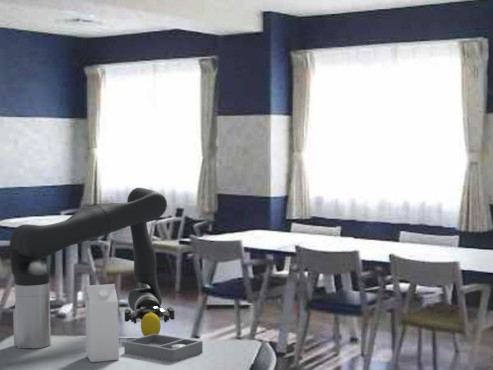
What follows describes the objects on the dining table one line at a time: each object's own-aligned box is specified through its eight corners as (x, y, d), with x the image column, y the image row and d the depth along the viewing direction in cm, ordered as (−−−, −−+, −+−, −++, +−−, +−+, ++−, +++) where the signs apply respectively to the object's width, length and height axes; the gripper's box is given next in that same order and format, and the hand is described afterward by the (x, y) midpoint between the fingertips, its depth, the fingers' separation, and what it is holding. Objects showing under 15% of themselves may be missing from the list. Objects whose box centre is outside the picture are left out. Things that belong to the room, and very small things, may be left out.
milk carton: (86, 356, 216) (84, 283, 215) (113, 353, 218) (112, 281, 217) (91, 363, 209) (89, 287, 208) (119, 360, 212) (117, 286, 211)
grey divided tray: (124, 353, 219) (124, 341, 219) (154, 344, 228) (153, 333, 228) (173, 361, 209) (173, 350, 209) (202, 352, 218) (202, 341, 218)
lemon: (163, 341, 232) (162, 312, 232) (143, 343, 230) (143, 314, 230) (157, 337, 237) (157, 309, 237) (138, 338, 235) (138, 310, 235)
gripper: (123, 297, 248) (124, 307, 232) (171, 295, 250) (175, 304, 234) (123, 322, 248) (125, 333, 232) (171, 320, 250) (176, 331, 234)
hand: (150, 319), depth 233 cm, fingers open, 8 cm apart
